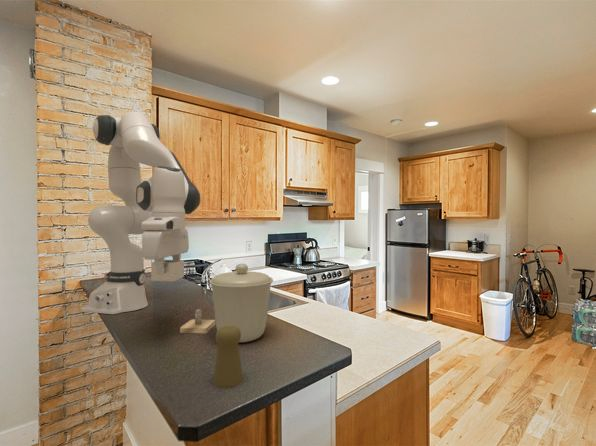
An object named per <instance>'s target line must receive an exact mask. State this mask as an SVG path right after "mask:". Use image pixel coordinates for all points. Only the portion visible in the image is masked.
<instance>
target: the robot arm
mask: <svg viewBox="0 0 596 446" xmlns="http://www.w3.org/2000/svg"><path fill="white" fill-rule="evenodd" d="M92 132H93V135H94V138H95V140H96V142H98V143H99V144H101V145H104V146H110V148H109V151H108V157H107V172H108V173H107V174H108V189H109V191H110V192H111V193H112V195H114V196H115V197H117V198H119V199H121V200H122V202H124V205H113V204H112V205H111V204H108V205H101V206H95V207H94V208H93V209H92V210H91V211H90V213H89V214H88V217H87V218H88V219H87V221H88V222H87V223H88V227H89V228H90V229H91V231H92V232H93V233H95V234H96V235H98V236H99V237H101V239H102V240H103V241H104V242H105V244H106V246H107V247H108V250H109V256H110V271H109V272H106V273H104V274H103V275H104V276H103V278H105V282H104V283H102V284H101V285H99V286H98V287H97V288H95V289H94V290H93V291H91V293H90V294H89V297H88V302H87V304H85V305H83V306H82V307H81V308H80V312H84V313H94V314H107V315H116V314H121V313H127V312H133V311H137V310H140V309H141V310H142V309H144V308H146V307H148V306H149V303H148V300H147V295H146V290H145V280H146V270H145V269H144V266H145V265H144V262H145V261H144V260H151V261H152V260H153V262H154V263H155V265H156V268H157V274H158V275H162V274H165V273H166V267H164V263H163V262H164V260H165V258H169V257H171V258H172V260H181V258H182V255H183V254H186V253H188V252H189V250H190V249H189V246H190V245H189V244H190V243H189V241H190V240H189V232H188V230H187V229H186V215H191V214H192V213H194V211H196V210H197V209H198V208H199V206H200V203H201V193H200V191H199V189H198V188H197V186H196V184H194V183H193V182H192V181H191V179H190V178H189V176H188V174H187V173H186V171H185V169H184V168H183V166H182V164H181V163H180V160H178V157H177V156H176V155H175V153H173V152H172V151H171V150H170V149H169V148H168V147H167V146H165V145H164V143H163V142H162V141H161V140H160V139H161V136H160V134H161V133H160V130H159V128H158V127H157V125H156V124H154V123H151V121H150V120H149V118H148V117H147V116H146V115H145V114H144V113H142V112H140V111H137V110H136V111H133V110H132V111H127V112H125V113H124V114H123V115H122V116H121V117H120V116H114V115H113V116H112V115H109V114H102V115H101V114H100V115H98V116H97V117H96V118H95V120H94V122H93V123H92ZM140 164H141V165H145V166H149V167H152V168H153V171H152V175H151V177H150V178H149V179H147V180H143V181H142V176H141V174H142V173H141V166H140ZM129 235H142V237H141V246H139V245H137V244H135V243H133V242H131V240H130V238H129Z"/></svg>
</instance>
